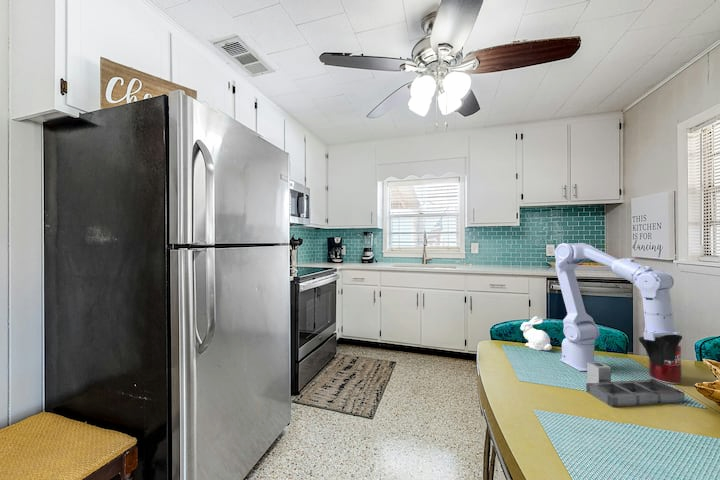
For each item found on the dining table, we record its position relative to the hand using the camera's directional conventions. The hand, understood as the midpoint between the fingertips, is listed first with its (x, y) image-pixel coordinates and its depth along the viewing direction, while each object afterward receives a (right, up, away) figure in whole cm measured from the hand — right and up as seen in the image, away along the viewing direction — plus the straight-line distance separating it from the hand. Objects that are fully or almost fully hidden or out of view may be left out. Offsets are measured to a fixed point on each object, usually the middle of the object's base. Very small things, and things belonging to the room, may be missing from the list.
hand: (663, 362), depth 82 cm
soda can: (+13, -11, +12) cm, 21 cm away
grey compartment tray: (-6, -11, +2) cm, 13 cm away
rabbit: (-11, -11, +42) cm, 45 cm away
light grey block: (-11, -11, +9) cm, 18 cm away
